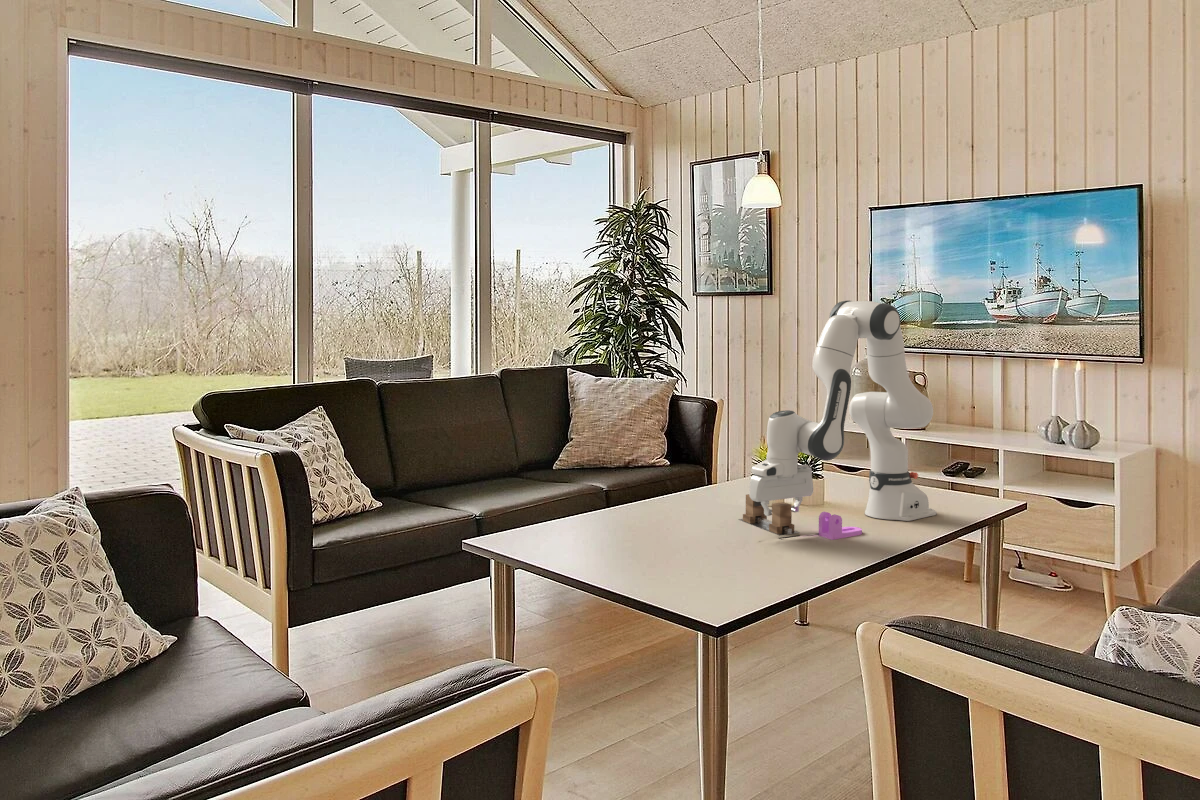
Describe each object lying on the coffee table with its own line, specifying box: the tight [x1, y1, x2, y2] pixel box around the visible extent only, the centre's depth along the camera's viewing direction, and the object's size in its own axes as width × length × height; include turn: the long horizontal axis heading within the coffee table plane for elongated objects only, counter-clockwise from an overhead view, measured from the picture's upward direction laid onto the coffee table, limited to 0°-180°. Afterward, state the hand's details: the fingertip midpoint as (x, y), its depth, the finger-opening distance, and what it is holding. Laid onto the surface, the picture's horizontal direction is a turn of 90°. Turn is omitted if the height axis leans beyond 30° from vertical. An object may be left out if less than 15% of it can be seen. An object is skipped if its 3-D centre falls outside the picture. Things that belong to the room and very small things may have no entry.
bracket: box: [818, 511, 863, 541], centre depth 258 cm, size 13×6×7 cm, turn 118°
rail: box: [738, 516, 801, 540], centre depth 266 cm, size 7×22×2 cm, turn 23°
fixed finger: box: [742, 494, 768, 524], centre depth 272 cm, size 6×5×8 cm
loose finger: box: [768, 501, 795, 535], centre depth 259 cm, size 6×5×8 cm
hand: (781, 513), depth 259 cm, fingers open, 8 cm apart
